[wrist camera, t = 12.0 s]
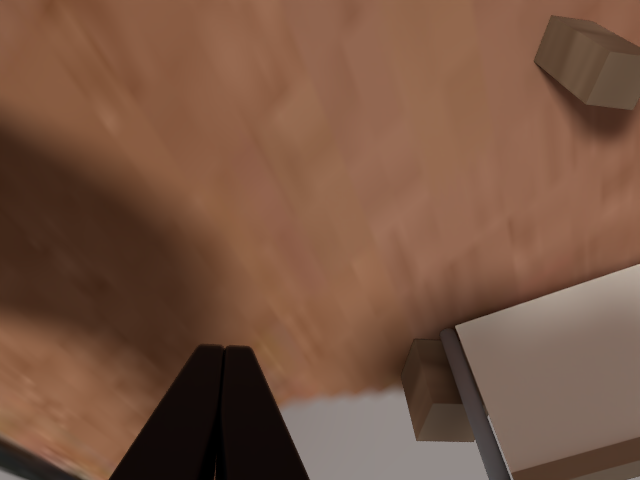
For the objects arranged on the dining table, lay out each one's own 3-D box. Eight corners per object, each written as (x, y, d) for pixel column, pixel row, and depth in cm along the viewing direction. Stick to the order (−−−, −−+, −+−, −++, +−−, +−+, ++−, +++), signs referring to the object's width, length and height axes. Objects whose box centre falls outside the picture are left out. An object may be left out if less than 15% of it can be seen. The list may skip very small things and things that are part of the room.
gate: (436, 329, 27) (495, 499, 20) (724, 232, 25) (905, 387, 18) (442, 343, 28) (501, 513, 21) (723, 250, 25) (897, 407, 18)
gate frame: (400, 376, 30) (416, 441, 26) (532, 12, 18) (587, 48, 15) (452, 378, 30) (473, 442, 27) (611, 24, 19) (681, 61, 16)
